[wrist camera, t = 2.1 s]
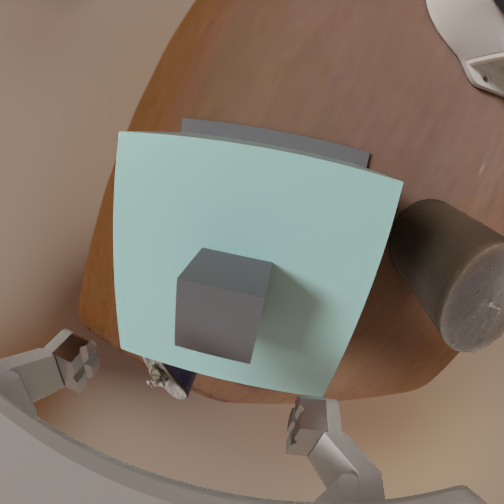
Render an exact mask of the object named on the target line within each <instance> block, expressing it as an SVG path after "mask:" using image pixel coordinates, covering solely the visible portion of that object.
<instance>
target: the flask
mask: <svg viewBox="0 0 504 504" xmlns="http://www.w3.org/2000/svg"><path fill="white" fill-rule="evenodd" d="M142 357H143V356H142ZM143 360H144V362H145V364H146V365H147V367H148V368H149V373H150V375H151V376H152V379H151V382H152V384H153V385H154V386H155V387H159V386H161V387H162V388H165V389H166V390H167V391H168V392H169V393H170V394H171V395H172V396H173V397H175V398H177V399H181V400H184V399H186V398H187V397H188V395H189V392H190V389H191V387H192V384H193V382H194V379H195V376H196V374H197V373H196V372H192V371H189V370H185V369H182V368H178V367H175V366H171V365H168V364H165V363H162V362H158V361H155V360H152V359H149V358H146V357H143ZM147 384H148V385H149V386H150V385H151V383H150V381H148V380H147ZM151 387H152V388H153V386H151Z"/></svg>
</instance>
